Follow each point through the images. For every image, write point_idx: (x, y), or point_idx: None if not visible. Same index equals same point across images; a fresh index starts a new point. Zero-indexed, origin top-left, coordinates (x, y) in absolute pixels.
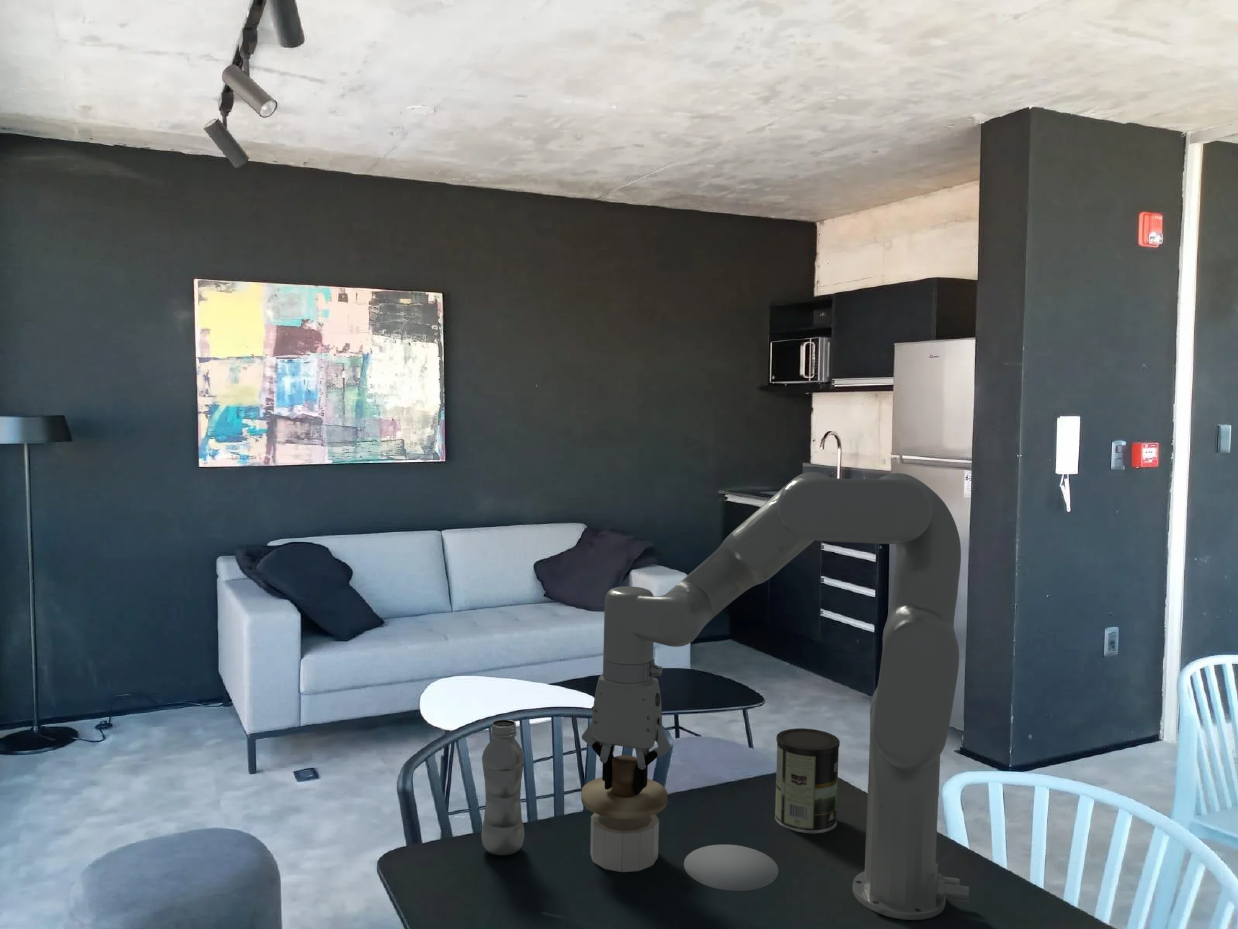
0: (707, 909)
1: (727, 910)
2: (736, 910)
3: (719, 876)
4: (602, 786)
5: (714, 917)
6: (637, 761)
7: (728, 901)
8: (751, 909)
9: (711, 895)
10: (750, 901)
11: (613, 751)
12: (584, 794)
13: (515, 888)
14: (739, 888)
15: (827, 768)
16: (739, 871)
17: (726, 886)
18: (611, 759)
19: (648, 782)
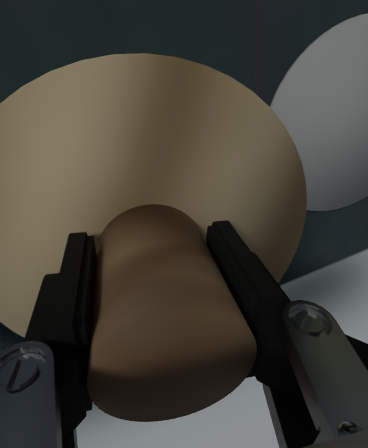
0: (302, 258)
1: (328, 249)
2: (339, 244)
3: (327, 173)
4: (40, 245)
5: (310, 269)
6: (271, 412)
7: (331, 229)
8: (359, 234)
9: (309, 224)
10: (362, 216)
11: (55, 387)
12: (21, 327)
13: (12, 331)
14: (354, 197)
15: None
16: (363, 141)
17: (335, 200)
18: (83, 392)
19: (220, 114)
